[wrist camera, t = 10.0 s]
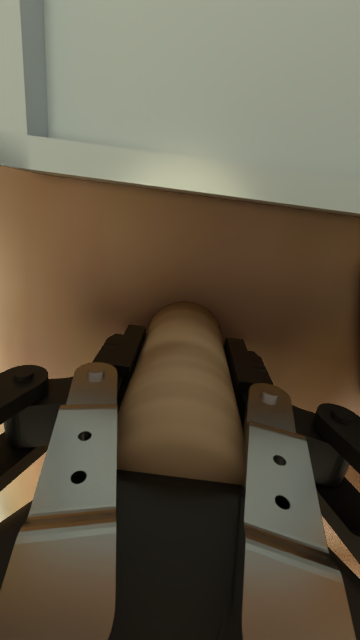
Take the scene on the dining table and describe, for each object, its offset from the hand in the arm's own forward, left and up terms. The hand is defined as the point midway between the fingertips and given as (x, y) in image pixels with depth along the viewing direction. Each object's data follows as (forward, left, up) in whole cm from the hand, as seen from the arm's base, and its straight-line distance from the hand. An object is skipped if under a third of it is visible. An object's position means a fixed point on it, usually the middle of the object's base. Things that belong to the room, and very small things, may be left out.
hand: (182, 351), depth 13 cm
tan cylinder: (0, 0, -2) cm, 2 cm away
